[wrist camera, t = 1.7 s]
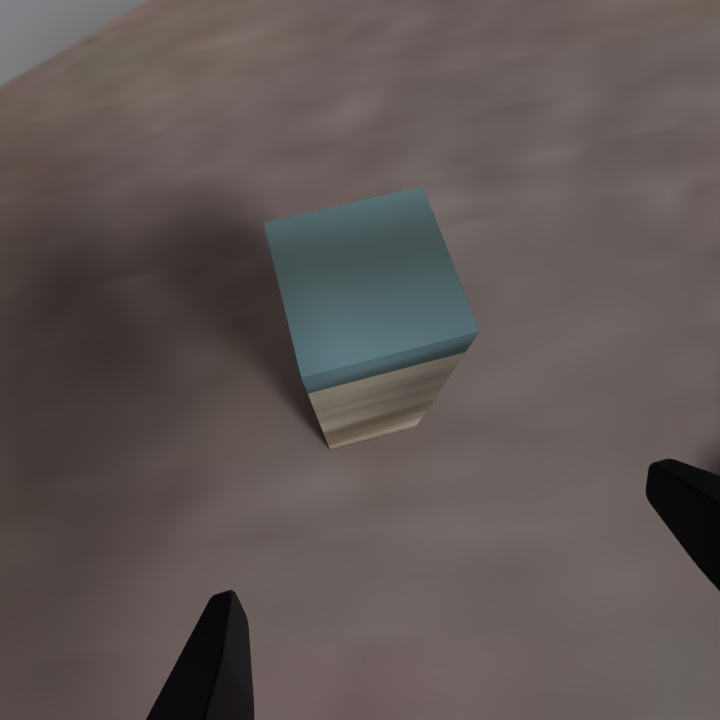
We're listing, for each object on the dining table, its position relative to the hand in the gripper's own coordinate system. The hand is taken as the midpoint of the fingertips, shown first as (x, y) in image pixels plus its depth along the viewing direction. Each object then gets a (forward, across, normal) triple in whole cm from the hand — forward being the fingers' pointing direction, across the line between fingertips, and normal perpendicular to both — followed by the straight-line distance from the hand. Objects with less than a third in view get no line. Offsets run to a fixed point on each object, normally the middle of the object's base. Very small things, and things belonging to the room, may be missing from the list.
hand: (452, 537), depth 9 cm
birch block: (+14, 0, +4) cm, 14 cm away
